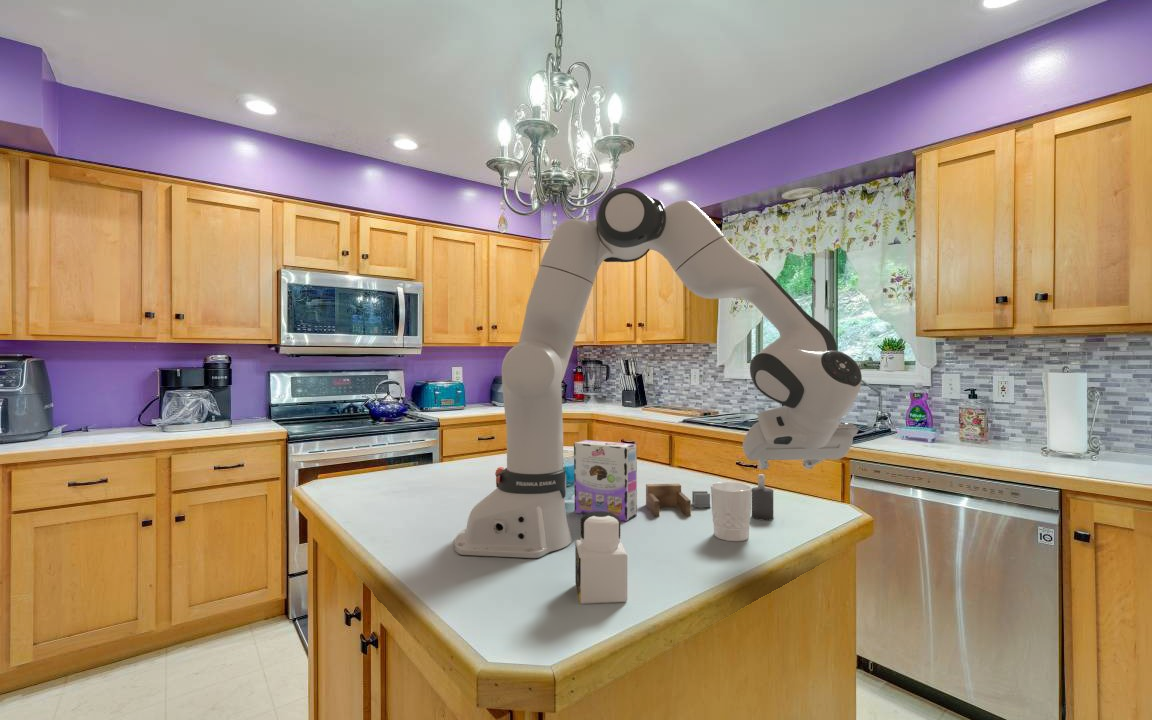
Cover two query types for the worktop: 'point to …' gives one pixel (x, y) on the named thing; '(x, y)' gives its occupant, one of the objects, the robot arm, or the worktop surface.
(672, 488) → the frame
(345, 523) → the worktop surface
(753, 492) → the plug
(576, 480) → the candy box
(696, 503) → the clip
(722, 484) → the white cup
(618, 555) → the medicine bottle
